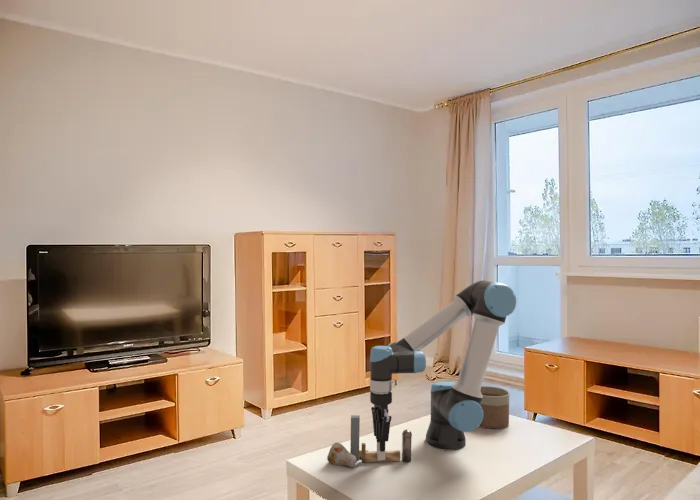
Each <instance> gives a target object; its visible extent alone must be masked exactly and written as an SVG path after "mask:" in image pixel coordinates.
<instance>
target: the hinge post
mask: <svg viewBox="0 0 700 500" xmlns="http://www.w3.org/2000/svg"><path fill="white" fill-rule="evenodd" d="M412 434H413V433H412V432H411V430H409V429H404V430H403V431H402V434H401V436H402V439H401V440H402V441H401V442H402V443H401V448H402V449H401V452H402V453H401V461H402V463H407V464H408V463H412V439H413V438H412V437H413V435H412Z"/></svg>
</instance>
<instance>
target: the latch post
mask: <svg viewBox="0 0 700 500" xmlns="http://www.w3.org/2000/svg"><path fill="white" fill-rule="evenodd" d="M360 418H361V416H360V415H356V414H355V415H352V414H351V416H350V451H349V453H350V454H352V455H354V456H356V459H357V461H358V462H359V461H360V458H361V451H362V449H360V422H361V421H360V420H361V419H360ZM367 451H369V449H366V452H367ZM357 461H356V462H357Z"/></svg>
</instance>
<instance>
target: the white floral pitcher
mask: <svg viewBox="0 0 700 500" xmlns="http://www.w3.org/2000/svg"><path fill="white" fill-rule="evenodd" d="M326 458H327V459H326V460H327V461H328V462H329V463H330V464H332V465H338V466H339V465H341V466H347V467H349V468H353V467H354V466H355V465H356V464H357V459H356V456H354V455H352V454H350V451H348V449H347V448H346V447H345V446H344V445H343V444H342V443H340V442H337V441H336V442H333V444H332V445H331V447H330V449H329V452H328V454H327V457H326Z"/></svg>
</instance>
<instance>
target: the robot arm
mask: <svg viewBox="0 0 700 500" xmlns="http://www.w3.org/2000/svg"><path fill="white" fill-rule="evenodd" d="M516 307H517V297H516V294H515V292H514V290H513V289H512V288H511V287H510V286H509V285H507V284H505V283H502V282H498V281H489V280H478V281H476V282H473V283H472V284H469V286H467V287H465V288H464V289H462V290H461V291H460V292H459V293H457V294H456V295H455V296H454V297H453V301H451V302H449V304H447V305H446V306H445V307H443V308H441V309H440V310H439V311H438V312H436V313H435V314H434V315H432V316H431V317H429V318H428V319H427V320H426V321H424V322H423V323H422V324H420V325H419V326H417V327H416V328H415V329H413V330H412V331H411V332H409V333H408V334H407V335H406V336H405V335H404V337H402V338H401V339H400V340H398V341H397V342H396V341H395V342H394V341H393V342H390V343H389V344H388V345H375V346H373V347H371V349H370V356H369V358H370V359H369V362H370V363H369V364H370V366H369V367H370V377H369V391H370V394H369V395H370V396H369V398H370V400H369V401H370V403H371V404H372V405H374V406H372V407H371V408H370V410H371V414H372V426H373V428H372V429H373V436H374V437H375V440H376V451H377V460H378V461H379V460H385V451H386V442H389V437H390V428H391V423H392V422H391V421H392V419H393V417H392V416H391V415H389V408H388V407H389V405H390V404H392V403H393V393H392V391H393V389H392V387H393V383H394V381H393V380H392V379H393V374H394V375H397V374H398V375H400V374H419V373H423V372H425V370H426V366H427V360H426V356H425V353H424V351H422V350H423V349H424V348H425V347H427V346H429V344H431V343H432V342H433V341H435V340H436V339H438V338H439V337H440V336H441V335H443V334H444V333H446V332H447V331H449V330H450V329H451V328H453V327H454V326H455V325H456V324H458V323H459V322H460V321H462V320H463V319H464V318H466V317H469V318H470V317H472V316H473V317H474V322H473V323H474V324H473V327H472V330H471V334H470V335H469V341H468V342H467V343H468V344H467V347H466V349H465V350H466V351H465V353H464V356H463V361H462V364H461V368H460V370H459V374H458V377H457V381H456V382H454V381H439V382H435V383H434V382H433V383H432V384H431V386H430V421H429V422H430V423H429V425H428V428H427V430H426V434H425V443H426V445H428V446H430V447H432V448H435V449H439V450H444V451H448V450H449V451H450V450H451V451H455V450H461V449H463V448H465V446H466V443H467V442H466V439H467V438H466V435H465V433H467V432H469V433H470V432H471V431H475V430H476V429H477V428H478V427H480V426H479V425H480V424H481V422H482V420H483V410H482V407H481V406H480V405H481V402H482V399H483V396H482V394H481V392H480V390H481V386H482V385H483V382H484V379H485V377H486V376H485V375H486V372H487V368H488V365H489V362H490V357H491V356H492V351H493V349H494V344H495V341H496V337H497V334H498V331H499V328H500V326H502V325H504V324H505V323H506V319H507V316H509V315H511V314H512V313H514V311H515V309H516ZM379 462H380V461H379Z"/></svg>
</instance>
